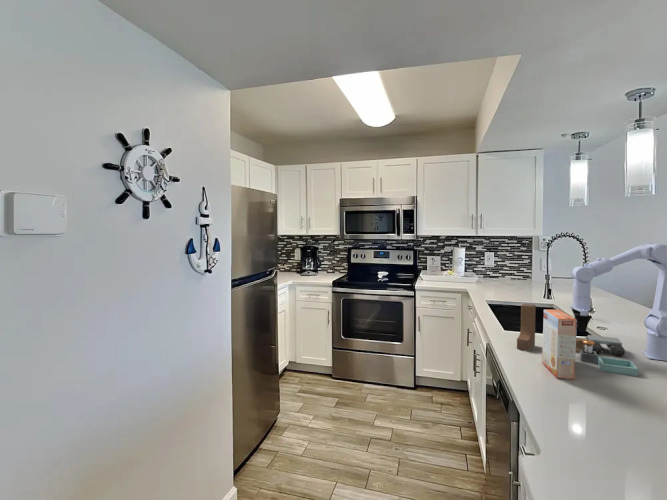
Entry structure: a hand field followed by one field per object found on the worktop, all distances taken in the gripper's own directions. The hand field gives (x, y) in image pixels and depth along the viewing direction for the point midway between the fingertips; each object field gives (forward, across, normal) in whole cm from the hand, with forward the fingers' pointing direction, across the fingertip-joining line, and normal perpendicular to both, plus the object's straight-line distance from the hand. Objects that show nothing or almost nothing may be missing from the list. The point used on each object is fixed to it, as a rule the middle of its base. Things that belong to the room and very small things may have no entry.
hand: (580, 329), depth 142 cm
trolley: (+9, -4, +8) cm, 13 cm away
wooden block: (+9, +4, -20) cm, 22 cm away
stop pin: (+9, +10, +1) cm, 13 cm away
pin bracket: (+9, +10, +2) cm, 13 cm away
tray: (+9, +16, +9) cm, 20 cm away
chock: (+9, 0, 0) cm, 9 cm away
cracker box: (+10, +26, -10) cm, 29 cm away
